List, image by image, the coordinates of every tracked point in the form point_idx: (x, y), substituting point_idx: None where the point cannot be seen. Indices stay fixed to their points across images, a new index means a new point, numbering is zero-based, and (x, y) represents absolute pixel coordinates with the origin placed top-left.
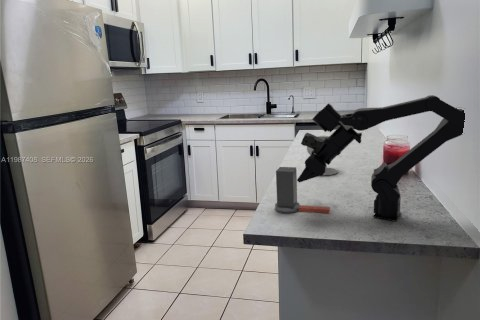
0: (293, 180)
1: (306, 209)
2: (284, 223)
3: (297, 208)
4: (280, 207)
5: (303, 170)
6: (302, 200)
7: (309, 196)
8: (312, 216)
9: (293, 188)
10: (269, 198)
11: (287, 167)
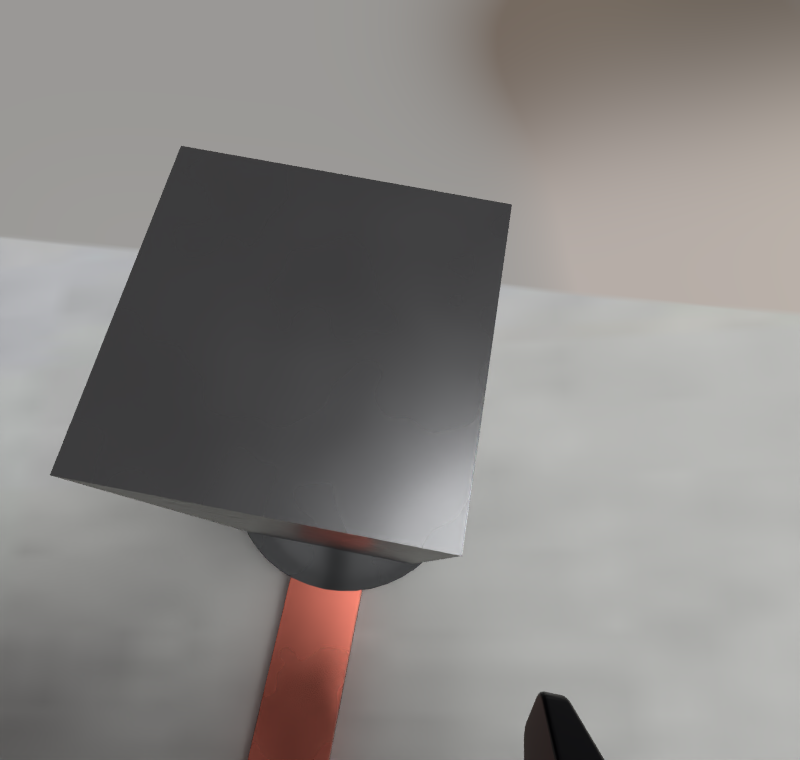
0: (169, 506)
1: (272, 660)
2: (37, 462)
3: (279, 568)
4: None
5: (553, 728)
6: (584, 616)
7: (713, 694)
8: (158, 716)
9: (196, 516)
10: (602, 318)
11: (455, 347)
